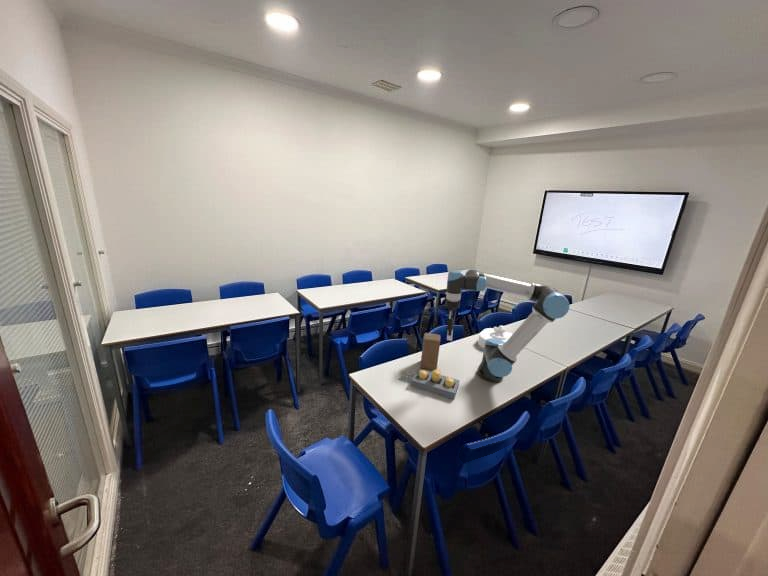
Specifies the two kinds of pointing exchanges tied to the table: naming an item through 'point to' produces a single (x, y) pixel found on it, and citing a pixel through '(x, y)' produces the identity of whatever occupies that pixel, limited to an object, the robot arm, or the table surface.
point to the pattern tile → (406, 377)
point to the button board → (435, 385)
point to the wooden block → (430, 351)
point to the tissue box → (493, 335)
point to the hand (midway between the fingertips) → (449, 339)
